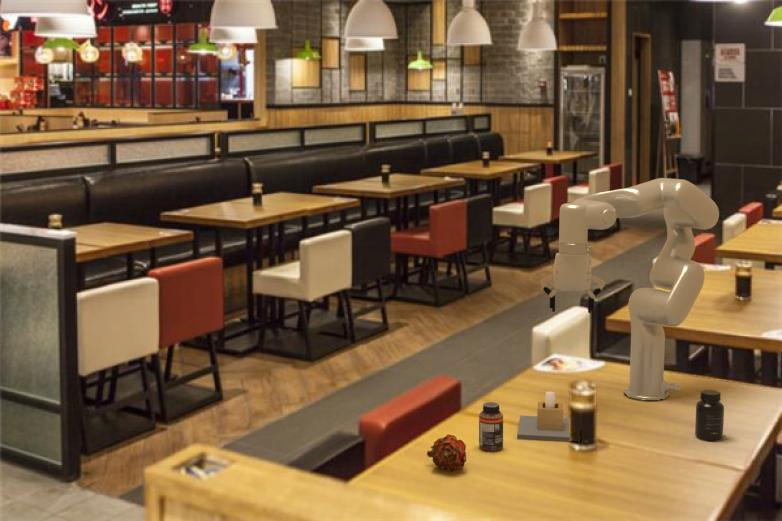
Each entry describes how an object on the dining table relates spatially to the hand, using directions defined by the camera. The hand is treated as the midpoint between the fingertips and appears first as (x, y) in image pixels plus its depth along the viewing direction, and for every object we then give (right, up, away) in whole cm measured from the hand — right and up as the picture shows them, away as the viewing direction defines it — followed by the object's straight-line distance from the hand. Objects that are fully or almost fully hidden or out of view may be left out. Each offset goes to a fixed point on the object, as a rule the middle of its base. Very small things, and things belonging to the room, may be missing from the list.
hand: (571, 311), depth 274 cm
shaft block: (-8, -30, -11) cm, 33 cm away
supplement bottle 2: (+32, -31, -17) cm, 48 cm away
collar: (-8, -29, -11) cm, 32 cm away
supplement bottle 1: (-24, -33, -24) cm, 48 cm away
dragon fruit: (-36, -35, -38) cm, 62 cm away
